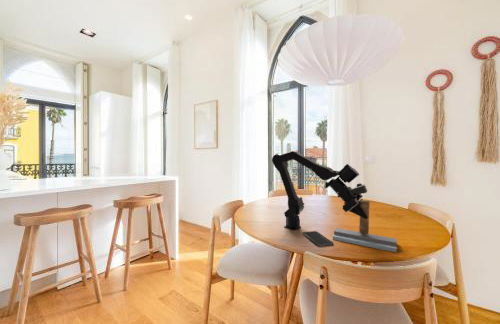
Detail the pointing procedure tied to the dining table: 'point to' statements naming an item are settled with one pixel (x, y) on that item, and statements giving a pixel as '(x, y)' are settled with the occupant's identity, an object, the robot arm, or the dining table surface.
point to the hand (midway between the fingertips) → (367, 217)
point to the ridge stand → (366, 239)
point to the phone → (317, 238)
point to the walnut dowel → (364, 222)
